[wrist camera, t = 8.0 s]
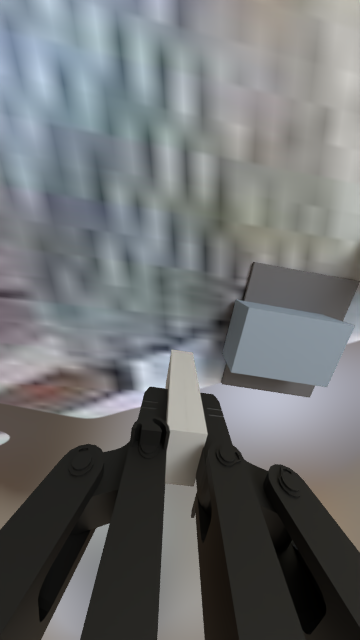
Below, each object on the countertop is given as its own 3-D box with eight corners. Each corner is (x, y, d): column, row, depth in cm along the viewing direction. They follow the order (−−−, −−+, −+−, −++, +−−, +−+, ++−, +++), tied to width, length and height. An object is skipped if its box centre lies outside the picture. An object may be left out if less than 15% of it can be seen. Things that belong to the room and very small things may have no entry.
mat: (221, 382, 29) (222, 384, 28) (253, 262, 24) (254, 262, 24) (307, 395, 30) (309, 397, 29) (356, 281, 25) (359, 281, 24)
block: (231, 372, 22) (326, 387, 23) (249, 307, 20) (354, 325, 21) (222, 353, 27) (301, 366, 28) (236, 299, 25) (321, 314, 25)
